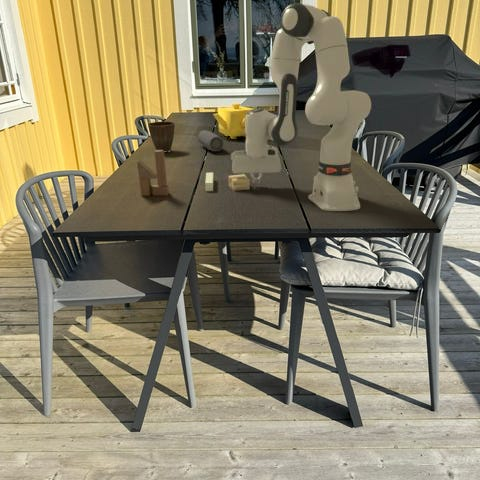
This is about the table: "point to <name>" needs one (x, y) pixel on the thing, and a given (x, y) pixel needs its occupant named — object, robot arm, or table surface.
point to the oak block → (239, 182)
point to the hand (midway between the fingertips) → (256, 182)
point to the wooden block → (153, 177)
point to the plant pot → (162, 134)
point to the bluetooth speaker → (210, 140)
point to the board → (209, 182)
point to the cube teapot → (232, 120)
